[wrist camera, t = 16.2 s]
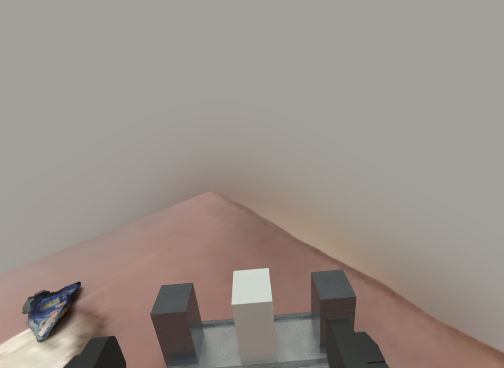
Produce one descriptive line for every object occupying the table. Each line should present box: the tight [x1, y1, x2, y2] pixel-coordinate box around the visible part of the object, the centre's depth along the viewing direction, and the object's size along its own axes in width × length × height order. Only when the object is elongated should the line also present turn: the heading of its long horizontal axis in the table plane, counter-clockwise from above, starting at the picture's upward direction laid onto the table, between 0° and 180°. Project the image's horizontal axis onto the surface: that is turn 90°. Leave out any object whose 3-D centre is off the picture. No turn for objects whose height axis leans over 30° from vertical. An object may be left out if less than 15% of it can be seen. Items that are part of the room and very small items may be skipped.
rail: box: [150, 270, 356, 368], centre depth 38 cm, size 26×9×12 cm, turn 91°
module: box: [232, 268, 277, 364], centre depth 37 cm, size 5×6×11 cm
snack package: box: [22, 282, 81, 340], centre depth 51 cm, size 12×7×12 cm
